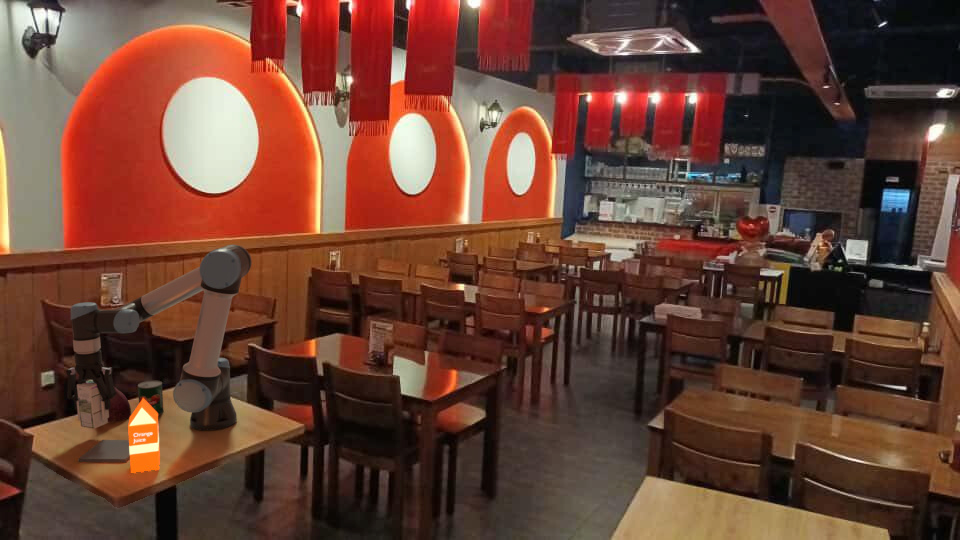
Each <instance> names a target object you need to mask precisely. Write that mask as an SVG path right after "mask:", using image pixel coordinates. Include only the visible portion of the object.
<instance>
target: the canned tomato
mask: <svg viewBox="0 0 960 540" xmlns="http://www.w3.org/2000/svg"><path fill="white" fill-rule="evenodd" d="M137 393H138V394H137V395H138V404H139V403H140V402H141V400H142V399H143V398H144V399H145V400H146V401H147V402H148V403H149V404H150V405H151V407H152V408H153V409H154V410H155V411H156V412H157V413H158V416H160V414H161V415H162V414H164V413H165V412H164V410H165V409H164V396H163V395H164V394H163V382H162V381H160V380H146V381H143V382H140V383H138V384H137Z"/></svg>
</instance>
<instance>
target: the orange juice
mask: <svg viewBox="0 0 960 540" xmlns="http://www.w3.org/2000/svg"><path fill="white" fill-rule="evenodd" d="M128 419H129V420H128V425H127V429H128V430H127V431H128V440H129V452H130V459H129V461H130V462H129V465H130V474H131V473H134V474H137V473H136V472H141V473H145V472H144V471H148V472H152V471H151V470H155V471H159V470H160V466H161V465H160V464H161V463H160V462H161V451H160V450H161V449H160V431H159V430H160V429H159V428H160V427H159V425H160V424H159V415H158V413H157V412H156V411H155V410H154V409H153V408H152V407H151V405H150V404H149V403H148V402H147V401H146V400H145V399H144V398H143V399H142V400H141V402H140V403H139V402H138V404H137V406H136V407H135V409H134V411H132V412H131V416H130V417H129V418H128ZM159 465H160V466H159Z"/></svg>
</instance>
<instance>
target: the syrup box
mask: <svg viewBox="0 0 960 540" xmlns="http://www.w3.org/2000/svg"><path fill="white" fill-rule="evenodd" d="M104 381H105V380H103V382H104ZM104 383H105V382H104ZM76 387H77V392H78V401H79V411H80V420H81V421H80V427H83V428H88V429H97V428H99V427H102V426H104V425H106V424H108V423H109V422H108V419H106V420H102V409H101V401H102V400H103V398H102V396H101V394H100V392H99V390H98V388H97V385H96V384H95V383H94V382H93V380H91V379H87V380H86V381H85V382H84V383H82V384H78V383H77V384H76Z"/></svg>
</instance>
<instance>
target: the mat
mask: <svg viewBox="0 0 960 540" xmlns="http://www.w3.org/2000/svg"><path fill="white" fill-rule="evenodd" d="M128 461H130V452H129V439H102V440H100V441H99V442H97V443H96V445H94V446H93V447H91V448H90V449H89V450H87V451H86V452H85V453H84V454H82V455H81V456H80V457H79V458H78V462H79V463H82V462H83V463H94V462H95V463H127V462H128Z"/></svg>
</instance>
